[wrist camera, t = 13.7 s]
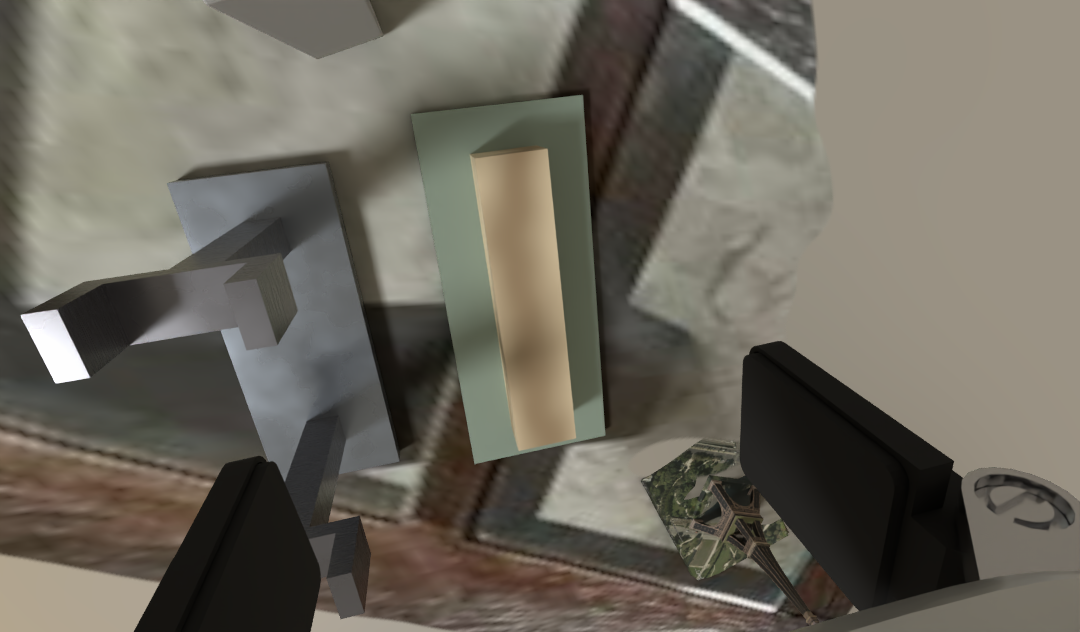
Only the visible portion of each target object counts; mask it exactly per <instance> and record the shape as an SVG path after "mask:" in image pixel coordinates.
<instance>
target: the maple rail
mask: <svg viewBox="0 0 1080 632" xmlns="http://www.w3.org/2000/svg"><path fill="white" fill-rule="evenodd" d="M470 159H471V166H472V172H473V179H474V185H475V192H476V198H477V205H478V211H479V218H480V224H481V231H482V237H483V244H484V250H485V257H486V263H487V270H488V276H489V283H490V290H491V296H492V303H493V309H494V316H495V322H496V329H497V335H498V342H499V348H500V355H501V361H502V368H503V374H504V381H505V387H506V394H507V400H508V407H509V413H510V420H511V426H512V430H513V433H514V437H515V440H516V444H517V447H518V450H519V451H521V450H526V449H530V448H535V447H539V446H544V445H548V444H553V443H557V442H562V441H566V440H571V439H575V438H576V432H575V422H574V411H573V401H572V391H571V381H570V371H569V361H568V351H567V341H566V331H565V320H564V310H563V300H562V290H561V280H560V270H559V260H558V250H557V239H556V229H555V219H554V209H553V199H552V189H551V179H550V169H549V158H548V149H547V148H543V147H540V146H537V145H535V146H527V147H520V148H512V149H505V150H497V151H490V152H482V153H475V154H470Z"/></svg>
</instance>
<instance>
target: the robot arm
mask: <svg viewBox="0 0 1080 632" xmlns="http://www.w3.org/2000/svg"><path fill="white" fill-rule="evenodd" d="M740 463H741V467H742V470H743V472H744V474H745V475H746V476H747V478H748V479H749V480H750V481H751V483H752V484H753V485H754V486H755V487H756V489H757V490H758V491H759V492H760V493H761V495H762V496H763V497H764V498H765V499H766V501H767V502H768V503H769V504H770V505H771V507H772V508H773V509H774V510H775V511H776V513H777V514H778V515H779V516H780V517H781V519H782V520H783V521H784V522H785V523H786V525H787V526H788V527H789V528H790V529H791V530H792V532H793V533H794V534H795V535H796V536H797V538H798V539H799V540H800V541H801V542H802V544H803V545H804V546H805V547H806V548H807V550H808V551H809V552H810V553H811V554H812V556H813V557H814V558H815V559H816V560H817V562H818V563H819V564H820V565H821V566H822V568H823V569H824V570H825V571H826V572H827V574H828V575H829V576H830V577H831V578H832V580H833V581H834V582H835V583H836V584H837V586H838V587H839V588H840V589H841V590H842V592H843V593H844V594H845V595H846V596H847V598H848V599H849V600H850V601H851V602H852V604H853V605H854V606H855V607H856V608H857V609H858V610H859V611H858V612H855V613H852V614H848V615H845V616H841V617H838V618H834V619H831V620H828V621H824V622H821V623H817V624H814V625H811V626H807V627H804V628H800V629H797V630H793V631H790V632H1080V502H1079V501H1078V500H1077V499H1076V498H1075V497H1074V496H1072V495H1071V494H1070V493H1069V492H1068V491H1066V490H1064V489H1062V488H1061V487H1059V486H1057V485H1055V484H1054V483H1052V482H1050V481H1048V480H1045V479H1042V478H1040V477H1037V476H1035V475H1032V474H1029V473H1025V472H1021V471H1017V470H1013V469H1006V468H996V467H991V468H980V469H977V470H974V471H971V472H969V473H967V475H966V476H965V477H964V478H962V477H961V476H960V475H958V474H957V473H955V472H954V471H953V470H952V468H953V463H954V461H953V460H952V459H950V458H949V457H947V456H946V455H944V454H943V453H942V452H940V451H939V450H937V449H936V448H934V447H933V446H932V445H930V444H929V443H927V442H926V441H924V440H923V439H922V438H920V437H919V436H917V435H916V434H914V433H913V432H912V431H910V430H908V429H907V428H906V427H904V426H903V425H902V424H900V423H899V422H897V421H896V420H894V419H893V418H891V417H890V416H889V415H887V414H886V413H884V412H883V411H882V410H880V409H879V408H877V407H876V406H874V405H873V404H871V403H870V402H868V401H867V400H866V399H864V398H863V397H862V396H860V395H859V394H857V393H856V392H854V391H853V390H851V389H850V388H849V387H847V386H846V385H844V384H843V383H841V382H840V381H839V380H837V379H836V378H834V377H833V376H831V375H830V374H828V373H827V372H826V371H824V370H823V369H821V368H820V367H819V366H817V365H816V364H814V363H813V362H811V361H810V360H809V359H807V358H806V357H804V356H803V355H801V354H800V353H799V352H797V351H796V350H794V349H793V348H791V347H790V346H789V345H787V344H786V343H784V342H782V341H777V342H772V343H767V344H763V345H758V346H754V347H753V348H751V350H750V352H749V355H746V356H745V357H744V359H743V376H742V405H741V435H740ZM320 583H321V572H320V566H319V563H318V560H317V558H316V556H315V553H314V551H313V549H312V546H311V544H310V541H309V539H308V537H307V534H306V532H305V530H304V527H303V525H302V522H301V520H300V518H299V515H298V513H297V511H296V508H295V506H294V503H293V501H292V499H291V496H290V494H289V492H288V489H287V487H286V484H285V482H284V480H283V477H282V475H281V473H280V470H279V468H278V466H277V464H276V463H275V462H273V461H270V462H266V460H265V459H264V458H263V457H261V456H256V457H252V458H247V459H243V460H238V461H234V462H229V463H227V464H225V465H224V467H223V468H222V470H221V472H220V473H219V475H218V477H217V479H216V481H215V483H214V485H213V486H212V488H211V490H210V492H209V494H208V496H207V498H206V499H205V501H204V503H203V505H202V507H201V509H200V511H199V513H198V514H197V516H196V518H195V520H194V522H193V524H192V526H191V527H190V529H189V531H188V533H187V535H186V537H185V539H184V541H183V542H182V544H181V546H180V548H179V550H178V552H177V554H176V555H175V557H174V559H173V560H172V562H171V563H170V565H169V567H168V569H167V571H166V573H165V575H164V576H163V578H162V580H161V582H160V584H159V586H158V588H157V589H156V591H155V593H154V595H153V597H152V599H151V601H150V603H149V605H148V606H147V608H146V610H145V612H144V614H143V616H142V617H141V619H140V621H139V623H138V625H137V627H136V628H135V630H134V632H310V631H311V627H312V622H313V617H314V612H315V608H316V603H317V598H318V593H319V589H320Z"/></svg>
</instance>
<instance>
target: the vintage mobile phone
mask: <svg viewBox="0 0 1080 632" xmlns="http://www.w3.org/2000/svg"><path fill="white" fill-rule="evenodd" d="M203 2H204V3H205V4H206V5H207V6H209V7H211V8H213V9H216V10H218V11H220V12H222V13H224V14H226V15H228V16H230V17H232V18H234V19H236V20H238V21H240V22H242V23H244V24H246V25H248V26H250V27H252V28H254V29H256V30H259V31H261V32H263V33H265V34H267V35H269V36H271V37H273V38H275V39H277V40H279V41H281V42H283V43H285V44H287V45H289V46H291V47H293V48H295V49H297V50H300V51H302V52H304V53H306V54H308V55H310V56H312V57H314V58H316V59H320V58H322V57H325V56H328V55H331V54H334V53H337V52H340V51H343V50H345V49H348V48H351V47H354V46H357V45H360V44H363V43H365V42H368V41H371V40H374V39H377V38H380V37H383V32H382V30H381V27H380V25H379V22H378V20H377V17H376V15H375V12H374V10H373V7H372V5H371V2H370V0H203Z"/></svg>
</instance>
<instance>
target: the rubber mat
mask: <svg viewBox="0 0 1080 632" xmlns="http://www.w3.org/2000/svg"><path fill="white" fill-rule="evenodd" d="M411 119H412V125H413V130H414V136H415V141H416V147H417V152H418V158H419V163H420V168H421V174H422V179H423V185H424V190H425V196H426V201H427V207H428V212H429V217H430V223H431V228H432V234H433V239H434V245H435V250H436V256H437V261H438V267H439V272H440V277H441V283H442V288H443V294H444V299H445V305H446V310H447V316H448V321H449V326H450V332H451V337H452V343H453V348H454V354H455V359H456V365H457V370H458V376H459V381H460V386H461V392H462V397H463V403H464V408H465V414H466V419H467V425H468V430H469V435H470V441H471V446H472V452H473V457H474V463H475V464H476V463H481V462H486V461H490V460H495V459H499V458H504V457H509V456H513V455H518V454H522V453H527V452H532V451H536V450H541V449H545V448H550V447H555V446H559V445H564V444H568V443H573V442H577V441H582V440H587V439H591V438H596V437H600V436H605V424H604V408H603V393H602V378H601V363H600V348H599V333H598V317H597V302H596V287H595V272H594V257H593V242H592V226H591V211H590V196H589V181H588V166H587V151H586V135H585V120H584V105H583V95H577V96H568V97H559V98H550V99H541V100H532V101H523V102H514V103H505V104H497V105H488V106H479V107H470V108H461V109H452V110H443V111H434V112H425V113H416V114H411ZM535 145H537V146H540V147H543V148H547V149H548V158H549V169H550V179H551V189H552V199H553V209H554V219H555V229H556V239H557V250H558V260H559V270H560V280H561V290H562V300H563V310H564V320H565V331H566V341H567V351H568V361H569V371H570V381H571V391H572V401H573V411H574V422H575V432H576V438H575V439H571V440H566V441H562V442H557V443H553V444H548V445H544V446H539V447H535V448H530V449H526V450H521V451H519V450H518V447H517V444H516V440H515V437H514V433H513V430H512V426H511V420H510V413H509V407H508V400H507V394H506V387H505V381H504V374H503V368H502V361H501V355H500V348H499V342H498V335H497V329H496V322H495V316H494V309H493V303H492V296H491V290H490V283H489V276H488V270H487V263H486V257H485V250H484V244H483V237H482V231H481V224H480V218H479V211H478V205H477V198H476V192H475V185H474V179H473V172H472V166H471V159H470V154H475V153H482V152H490V151H497V150H505V149H512V148H520V147H527V146H535Z"/></svg>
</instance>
